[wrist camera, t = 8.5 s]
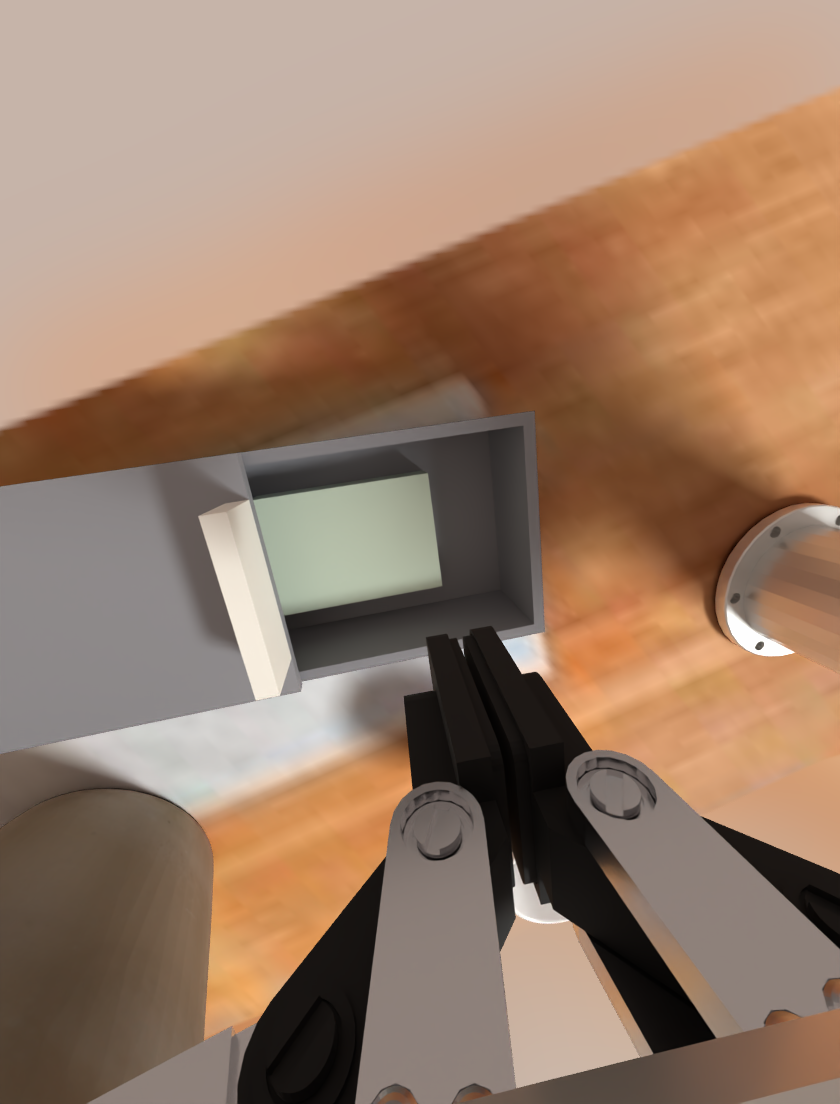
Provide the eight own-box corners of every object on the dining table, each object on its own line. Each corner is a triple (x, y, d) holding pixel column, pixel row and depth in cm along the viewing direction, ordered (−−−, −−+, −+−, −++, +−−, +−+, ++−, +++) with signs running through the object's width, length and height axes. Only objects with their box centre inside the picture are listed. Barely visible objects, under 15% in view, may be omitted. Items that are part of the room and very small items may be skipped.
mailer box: (493, 417, 24) (534, 410, 19) (506, 592, 28) (544, 631, 22) (159, 465, 22) (90, 473, 17) (219, 647, 26) (179, 706, 20)
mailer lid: (240, 452, 17) (210, 455, 14) (302, 684, 20) (290, 733, 17) (-296, 528, 15) (-490, 555, 11) (-124, 772, 18) (-234, 847, 15)
